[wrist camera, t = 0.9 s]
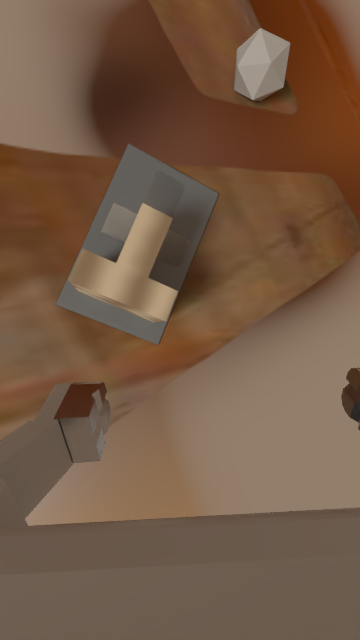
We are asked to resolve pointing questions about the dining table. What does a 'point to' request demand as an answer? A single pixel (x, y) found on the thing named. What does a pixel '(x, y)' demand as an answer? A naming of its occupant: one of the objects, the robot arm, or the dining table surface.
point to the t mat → (117, 220)
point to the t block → (130, 270)
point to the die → (261, 65)
